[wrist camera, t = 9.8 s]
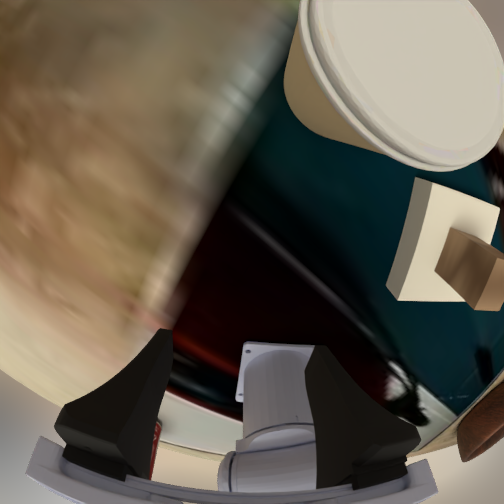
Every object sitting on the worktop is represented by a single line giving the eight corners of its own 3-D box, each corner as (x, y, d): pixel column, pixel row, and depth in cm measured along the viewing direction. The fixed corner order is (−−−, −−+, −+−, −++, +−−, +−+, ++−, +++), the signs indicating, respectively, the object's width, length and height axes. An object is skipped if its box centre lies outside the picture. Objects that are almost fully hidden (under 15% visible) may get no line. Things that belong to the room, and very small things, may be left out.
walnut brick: (461, 276, 20) (498, 310, 14) (434, 271, 19) (474, 309, 14) (476, 236, 18) (519, 265, 12) (450, 227, 18) (497, 257, 12)
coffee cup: (409, 125, 17) (530, 136, 6) (310, 171, 19) (391, 220, 8) (355, 22, 14) (440, -48, 3) (246, 60, 15) (244, -35, 4)
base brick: (453, 287, 24) (467, 301, 21) (383, 283, 23) (397, 300, 20) (480, 199, 20) (500, 208, 17) (412, 176, 19) (432, 182, 16)
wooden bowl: (484, 421, 44) (496, 444, 34) (432, 444, 42) (444, 474, 33) (533, 359, 34) (551, 383, 25) (492, 377, 33) (514, 410, 23)
